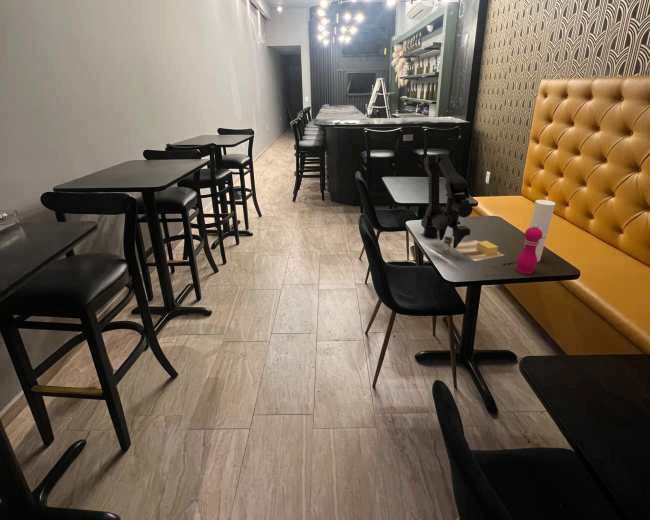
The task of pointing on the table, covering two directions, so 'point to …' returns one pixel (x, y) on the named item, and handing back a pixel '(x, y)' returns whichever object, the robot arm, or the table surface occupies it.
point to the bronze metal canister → (447, 244)
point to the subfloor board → (473, 251)
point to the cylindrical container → (542, 221)
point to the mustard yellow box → (486, 248)
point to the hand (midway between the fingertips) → (447, 243)
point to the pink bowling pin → (529, 251)
